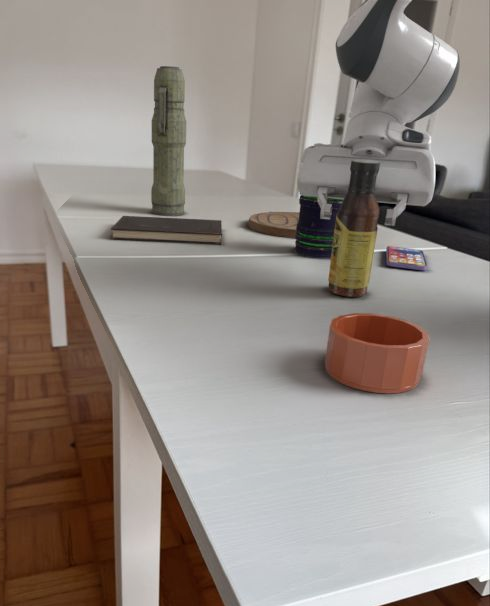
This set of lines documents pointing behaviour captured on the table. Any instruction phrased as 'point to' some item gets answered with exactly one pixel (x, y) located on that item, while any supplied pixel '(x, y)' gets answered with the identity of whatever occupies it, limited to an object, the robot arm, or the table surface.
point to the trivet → (275, 223)
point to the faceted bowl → (376, 352)
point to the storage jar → (315, 228)
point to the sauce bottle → (355, 232)
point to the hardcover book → (168, 230)
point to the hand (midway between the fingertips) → (357, 219)
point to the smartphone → (405, 258)
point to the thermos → (168, 142)
